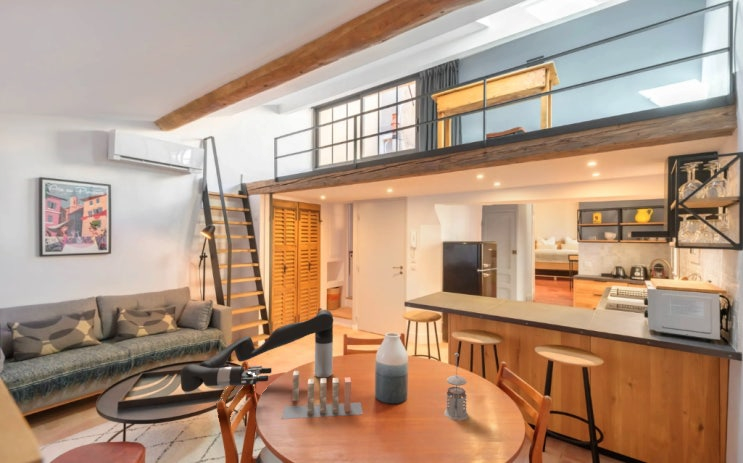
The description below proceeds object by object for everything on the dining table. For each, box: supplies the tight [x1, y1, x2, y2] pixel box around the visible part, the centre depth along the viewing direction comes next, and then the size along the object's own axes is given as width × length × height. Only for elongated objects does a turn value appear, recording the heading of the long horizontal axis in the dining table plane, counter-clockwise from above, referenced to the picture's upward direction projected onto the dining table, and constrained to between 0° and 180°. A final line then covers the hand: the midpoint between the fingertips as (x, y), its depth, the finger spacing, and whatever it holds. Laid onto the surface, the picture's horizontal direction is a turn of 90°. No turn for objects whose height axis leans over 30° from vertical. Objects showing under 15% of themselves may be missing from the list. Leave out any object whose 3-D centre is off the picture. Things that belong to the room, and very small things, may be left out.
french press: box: [443, 352, 469, 421], centre depth 140 cm, size 10×12×25 cm
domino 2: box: [307, 378, 315, 414], centre depth 140 cm, size 2×5×12 cm, turn 8°
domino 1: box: [291, 370, 300, 402], centre depth 151 cm, size 2×5×12 cm, turn 8°
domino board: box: [281, 402, 364, 420], centre depth 141 cm, size 10×32×1 cm, turn 98°
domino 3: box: [319, 377, 327, 413], centre depth 141 cm, size 2×5×12 cm, turn 8°
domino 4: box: [331, 377, 340, 413], centre depth 142 cm, size 2×5×12 cm, turn 8°
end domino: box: [343, 376, 352, 412], centre depth 142 cm, size 2×5×12 cm, turn 8°
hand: (269, 374), depth 149 cm, fingers open, 8 cm apart
